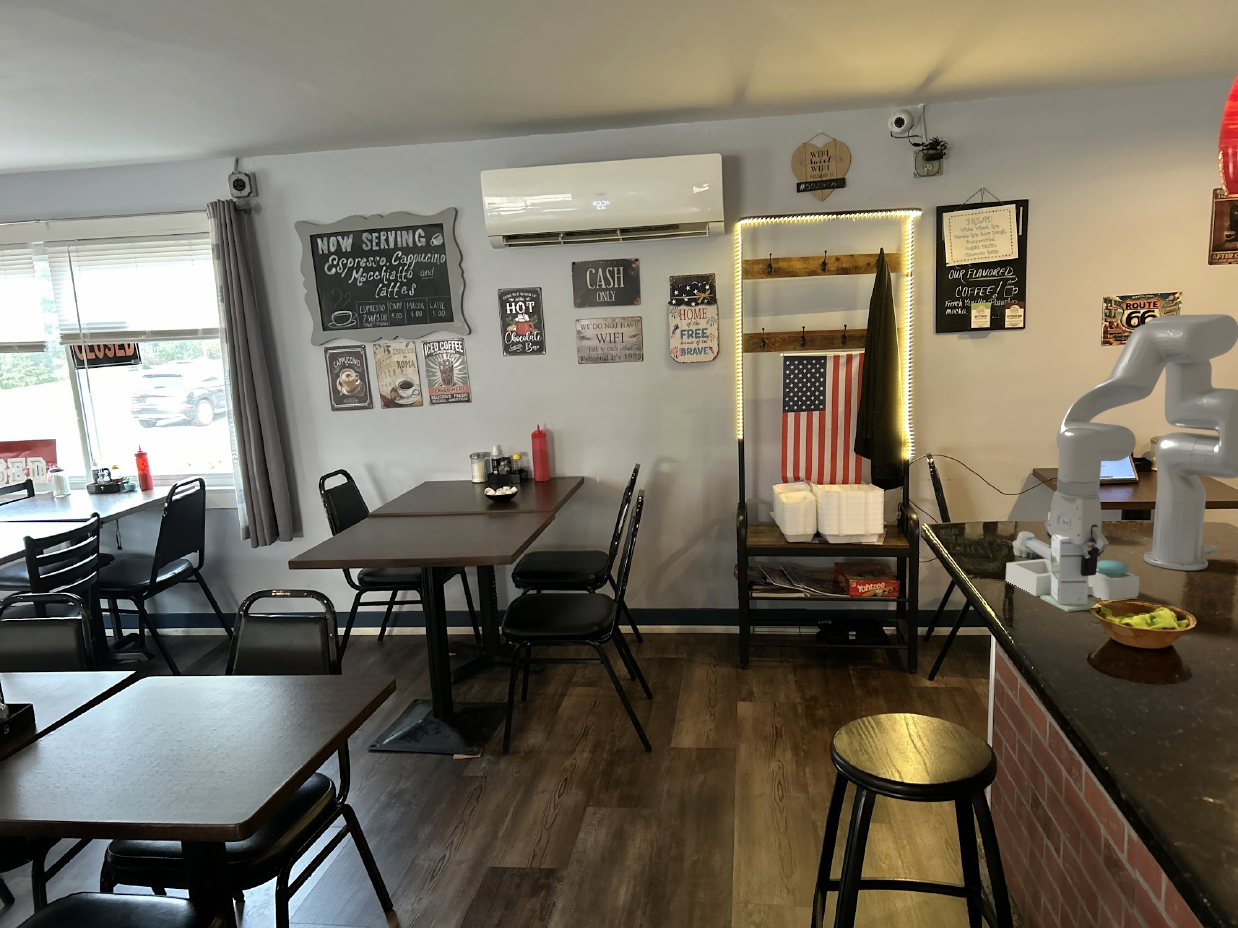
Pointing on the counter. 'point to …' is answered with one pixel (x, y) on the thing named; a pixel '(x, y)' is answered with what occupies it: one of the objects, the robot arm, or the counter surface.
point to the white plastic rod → (1031, 546)
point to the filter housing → (1038, 580)
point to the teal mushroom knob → (1112, 568)
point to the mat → (1068, 607)
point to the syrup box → (1067, 572)
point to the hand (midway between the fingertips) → (1072, 568)
